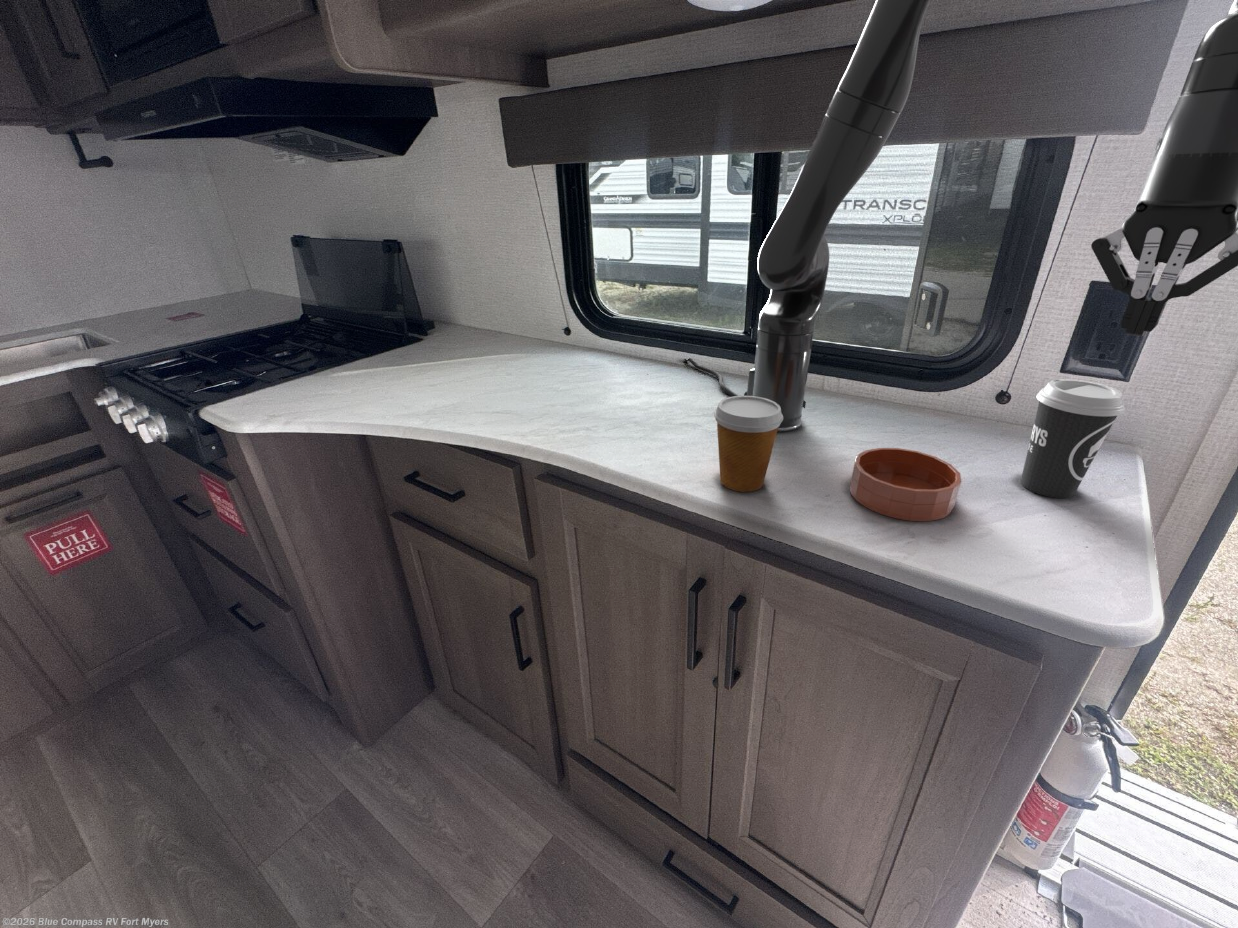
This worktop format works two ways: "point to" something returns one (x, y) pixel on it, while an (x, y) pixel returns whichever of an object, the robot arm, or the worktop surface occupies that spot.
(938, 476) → the bowl
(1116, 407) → the coffee cup
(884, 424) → the worktop surface
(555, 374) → the worktop surface
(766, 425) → the disposable coffee cup
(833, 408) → the worktop surface
